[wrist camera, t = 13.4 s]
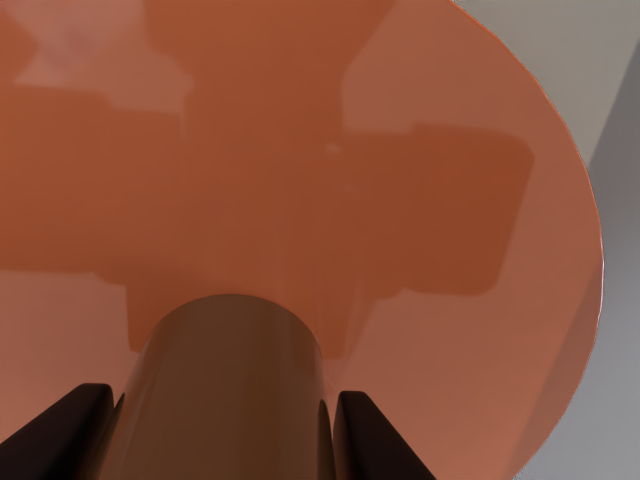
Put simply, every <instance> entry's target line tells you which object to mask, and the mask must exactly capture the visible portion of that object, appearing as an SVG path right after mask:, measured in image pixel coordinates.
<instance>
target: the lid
mask: <svg viewBox="0 0 640 480" xmlns="http://www.w3.org/2000/svg"><path fill="white" fill-rule="evenodd" d="M604 265H605V260H604V251H603V242H602V232H601V223H600V216H599V212H598V209H597V205H596V201H595V197H594V194H593V190H592V186H591V183H590V179H589V175H588V172H587V169H586V167H585V165H584V163H583V161H582V158H581V156H580V154H579V152H578V150H577V147H576V145H575V143H574V141H573V139H572V136H571V134H570V132H569V130H568V128H567V125H566V123H565V122H564V120H563V119H562V117H561V116H560V114H559V113H558V111H557V110H556V108H555V107H554V105H553V104H552V102H551V101H550V99H549V98H548V96H547V95H546V93H545V92H544V90H543V89H542V87H541V86H540V84H539V83H538V81H537V80H536V78H535V77H534V76H533V75H532V74H531V73H530V72H529V71H528V70H527V69H526V68H525V66H524V65H523V64H522V63H521V62H520V61H519V60H518V59H517V58H516V57H515V56H514V55H513V53H512V52H511V51H510V50H509V49H508V48H507V47H506V46H505V45H504V44H503V43H502V42H501V40H500V39H499V38H498V37H497V36H496V35H495V34H494V33H492V32H491V31H490V30H488V29H487V28H486V27H485V26H483V25H482V24H481V23H480V22H478V21H477V20H476V19H475V18H473V17H472V16H471V15H470V14H468V13H467V12H466V11H464V10H463V9H462V8H461V7H459V6H458V5H457V4H456V3H454V2H453V1H452V0H0V443H2V442H3V441H4V440H6V439H7V438H8V437H10V436H11V435H12V434H14V433H15V432H16V431H18V430H19V429H21V428H22V427H23V426H25V425H26V424H27V423H29V422H30V421H31V420H33V419H34V418H35V417H37V416H38V415H39V414H41V413H42V412H43V411H45V410H46V409H47V408H49V407H50V406H51V405H53V404H54V403H56V402H57V401H58V400H60V399H61V398H62V397H64V396H65V395H66V394H68V393H69V392H70V391H72V390H73V389H74V388H76V387H77V386H79V385H81V384H83V383H106V384H109V385H110V386H111V388H112V391H113V399H114V410H113V413H112V415H111V417H110V419H109V421H108V424H107V426H106V428H105V430H104V432H103V435H102V437H101V439H100V441H99V443H98V446H97V448H96V450H95V452H94V454H93V457H92V459H91V461H90V463H89V465H88V468H87V470H86V472H85V474H84V476H83V479H82V480H337V476H336V468H335V459H334V450H333V427H334V420H335V414H336V407H337V401H338V396H339V393H340V392H341V391H344V390H347V391H363V392H365V393H366V394H367V395H368V396H369V397H370V398H371V399H372V401H373V402H374V403H375V404H376V406H377V407H378V408H379V409H380V410H381V412H382V413H383V414H384V415H385V417H386V418H387V419H388V420H389V421H390V423H391V424H392V425H393V426H394V428H395V429H396V430H397V431H398V432H399V434H400V435H401V436H402V437H403V439H404V440H405V441H406V442H407V443H408V445H409V446H410V447H411V448H412V450H413V451H414V452H415V453H416V455H417V456H418V457H419V458H420V459H421V461H422V462H423V463H424V464H425V466H426V467H427V468H428V469H429V470H430V472H431V473H432V474H433V475H434V477H435V478H436V479H437V480H511V479H512V478H513V477H515V476H516V475H517V474H518V473H519V472H520V471H521V470H522V469H523V467H524V466H525V465H526V464H527V463H528V462H529V460H530V459H531V458H532V457H533V456H534V455H535V454H536V452H537V451H538V450H539V449H540V448H541V447H542V445H543V444H544V443H545V441H546V440H547V439H548V437H549V436H550V434H551V433H552V431H553V430H554V428H555V427H556V425H557V424H558V422H559V421H560V419H561V418H562V416H563V415H564V414H565V412H566V410H567V408H568V406H569V404H570V402H571V400H572V398H573V396H574V394H575V392H576V390H577V388H578V386H579V384H580V382H581V380H582V378H583V375H584V372H585V369H586V366H587V364H588V361H589V358H590V355H591V352H592V349H593V347H594V344H595V339H596V334H597V329H598V324H599V319H600V314H601V309H602V304H603V285H604Z"/></svg>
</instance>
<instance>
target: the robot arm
mask: <svg viewBox="0 0 640 480" xmlns="http://www.w3.org/2000/svg"><path fill="white" fill-rule="evenodd" d="M113 410H114V399H113V391H112V388H111V386H110V385H109V384H106V383H83V384H81V385H79V386H77V387H76V388H74V389H73V390H72V391H70V392H69V393H68V394H66V395H65V396H64V397H62V398H61V399H60V400H58V401H57V402H56V403H54V404H53V405H51V406H50V407H49V408H47V409H46V410H45V411H43V412H42V413H41V414H39V415H38V416H37V417H35V418H34V419H33V420H31V421H30V422H29V423H27V424H26V425H25V426H23V427H22V428H21V429H19V430H18V431H16V432H15V433H14V434H12V435H11V436H10V437H8V438H7V439H6V440H4V441H3V442H2V443H0V480H82V479H83V476H84V474H85V472H86V470H87V468H88V465H89V463H90V461H91V459H92V457H93V454H94V452H95V450H96V448H97V446H98V443H99V441H100V439H101V437H102V435H103V432H104V430H105V428H106V426H107V424H108V421H109V419H110V417H111V415H112V413H113ZM333 450H334V459H335V468H336V476H337V480H437V479H436V478H435V477H434V475H433V474H432V473H431V472H430V470H429V469H428V468H427V467H426V466H425V464H424V463H423V462H422V461H421V459H420V458H419V457H418V456H417V455H416V453H415V452H414V451H413V450H412V448H411V447H410V446H409V445H408V443H407V442H406V441H405V440H404V439H403V437H402V436H401V435H400V434H399V432H398V431H397V430H396V429H395V428H394V426H393V425H392V424H391V423H390V421H389V420H388V419H387V418H386V417H385V415H384V414H383V413H382V412H381V410H380V409H379V408H378V407H377V406H376V404H375V403H374V402H373V401H372V399H371V398H370V397H369V396H368V395H367V394H366V393H365V392H363V391H347V390H344V391H341V392H340V393H339V396H338V401H337V407H336V414H335V420H334V427H333Z"/></svg>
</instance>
